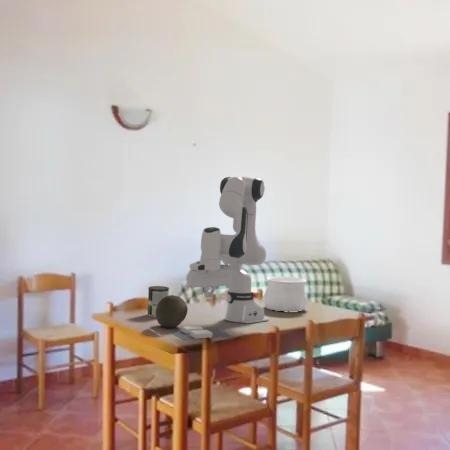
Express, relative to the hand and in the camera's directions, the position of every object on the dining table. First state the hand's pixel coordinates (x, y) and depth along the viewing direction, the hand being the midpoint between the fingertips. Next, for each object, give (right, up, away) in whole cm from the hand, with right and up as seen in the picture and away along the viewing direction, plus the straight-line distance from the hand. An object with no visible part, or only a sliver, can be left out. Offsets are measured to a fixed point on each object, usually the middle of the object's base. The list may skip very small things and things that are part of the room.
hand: (209, 296), depth 276 cm
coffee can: (-27, -15, +44) cm, 54 cm away
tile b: (0, -16, +1) cm, 16 cm away
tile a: (-4, -16, +9) cm, 18 cm away
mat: (-4, -18, +4) cm, 18 cm away
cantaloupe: (-18, -17, +16) cm, 30 cm away
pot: (+40, -16, +77) cm, 89 cm away
